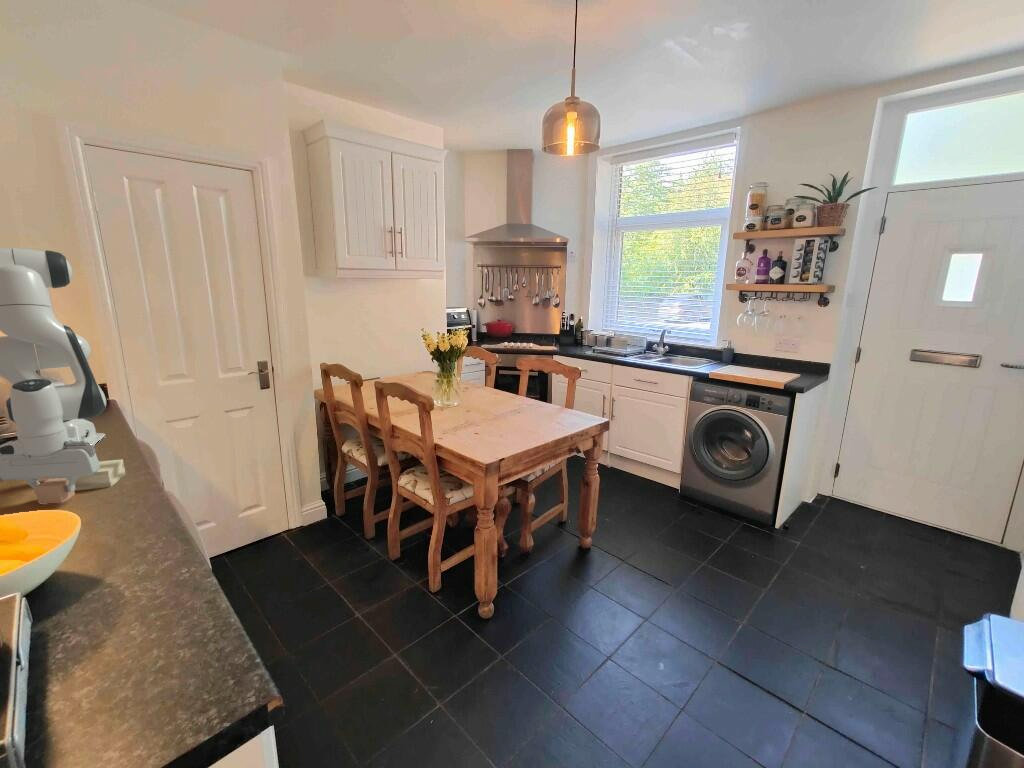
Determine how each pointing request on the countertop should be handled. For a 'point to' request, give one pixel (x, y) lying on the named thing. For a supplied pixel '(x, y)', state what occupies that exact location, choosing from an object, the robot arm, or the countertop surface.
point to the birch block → (102, 476)
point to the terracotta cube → (53, 491)
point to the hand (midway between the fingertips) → (55, 492)
